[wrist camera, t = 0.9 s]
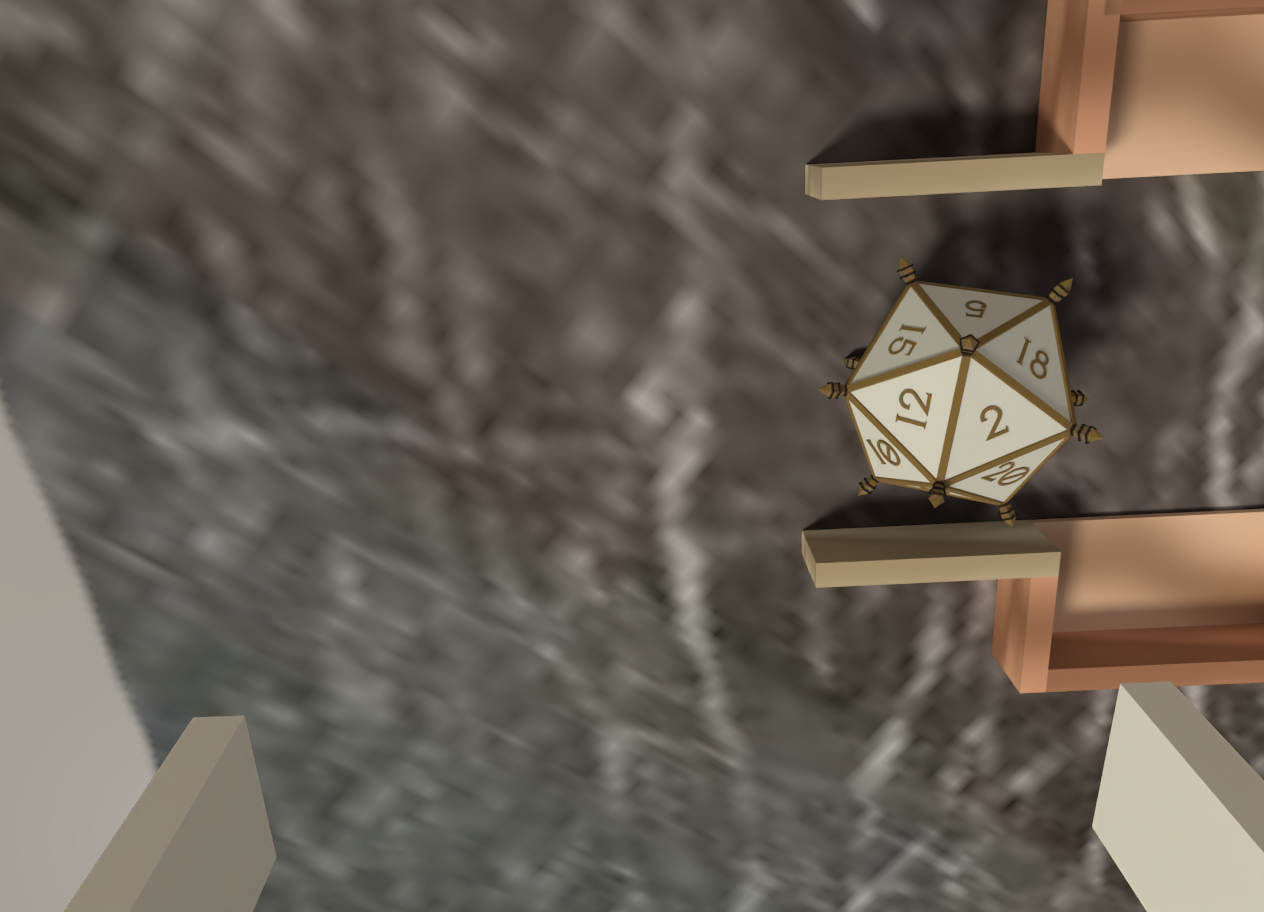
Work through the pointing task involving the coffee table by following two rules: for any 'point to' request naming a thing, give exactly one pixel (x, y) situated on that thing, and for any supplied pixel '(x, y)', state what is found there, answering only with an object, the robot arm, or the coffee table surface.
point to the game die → (963, 392)
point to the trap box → (1106, 545)
